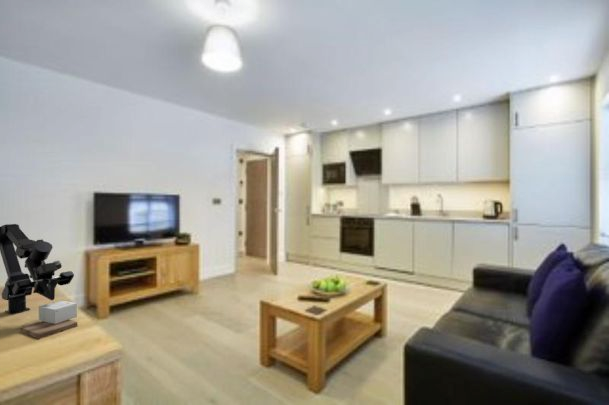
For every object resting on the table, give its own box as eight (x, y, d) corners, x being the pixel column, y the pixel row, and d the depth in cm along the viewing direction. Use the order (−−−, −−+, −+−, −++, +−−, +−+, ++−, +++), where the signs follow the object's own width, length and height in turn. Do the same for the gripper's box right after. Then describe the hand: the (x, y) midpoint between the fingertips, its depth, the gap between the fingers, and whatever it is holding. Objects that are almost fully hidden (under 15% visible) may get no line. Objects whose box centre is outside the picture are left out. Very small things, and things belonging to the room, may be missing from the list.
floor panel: (20, 331, 117) (20, 327, 117) (58, 320, 128) (58, 316, 128) (39, 338, 111) (39, 334, 111) (77, 326, 121) (77, 322, 121)
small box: (38, 320, 124) (54, 324, 119) (37, 306, 124) (54, 309, 119) (61, 313, 131) (77, 317, 127) (61, 299, 131) (77, 303, 126)
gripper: (14, 259, 119) (30, 293, 114) (71, 251, 135) (86, 280, 130) (5, 278, 123) (20, 312, 117) (61, 268, 139) (76, 297, 134)
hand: (53, 299), depth 125 cm, fingers closed
